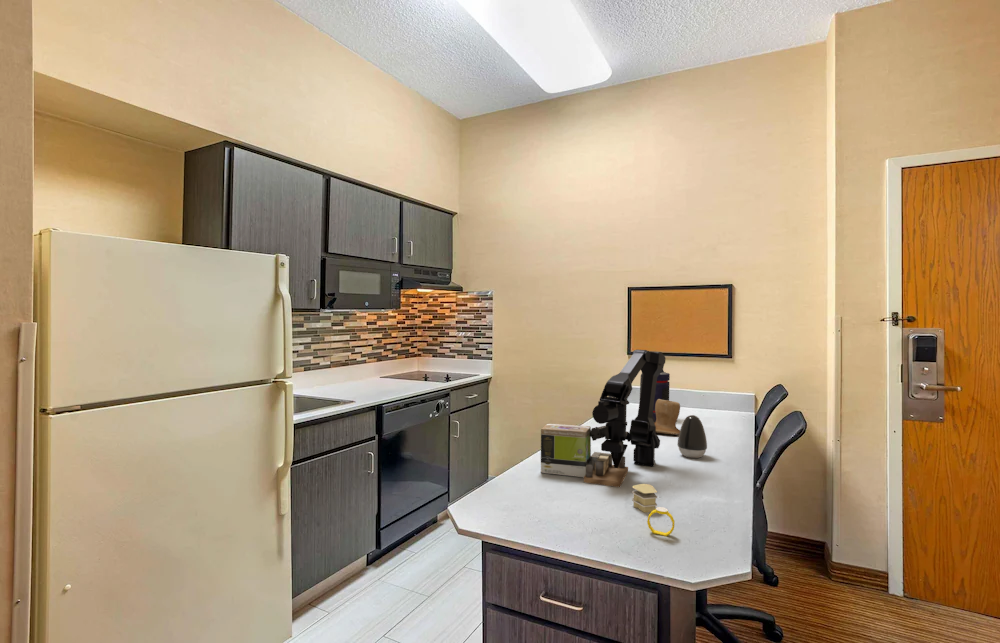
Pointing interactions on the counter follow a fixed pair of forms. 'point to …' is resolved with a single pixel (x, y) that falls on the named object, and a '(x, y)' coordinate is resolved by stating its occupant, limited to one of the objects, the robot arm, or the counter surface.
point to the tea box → (565, 449)
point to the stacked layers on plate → (644, 497)
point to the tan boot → (666, 416)
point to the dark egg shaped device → (692, 438)
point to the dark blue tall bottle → (660, 389)
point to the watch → (661, 511)
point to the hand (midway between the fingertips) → (616, 467)
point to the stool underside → (607, 475)
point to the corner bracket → (596, 456)
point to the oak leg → (601, 465)
